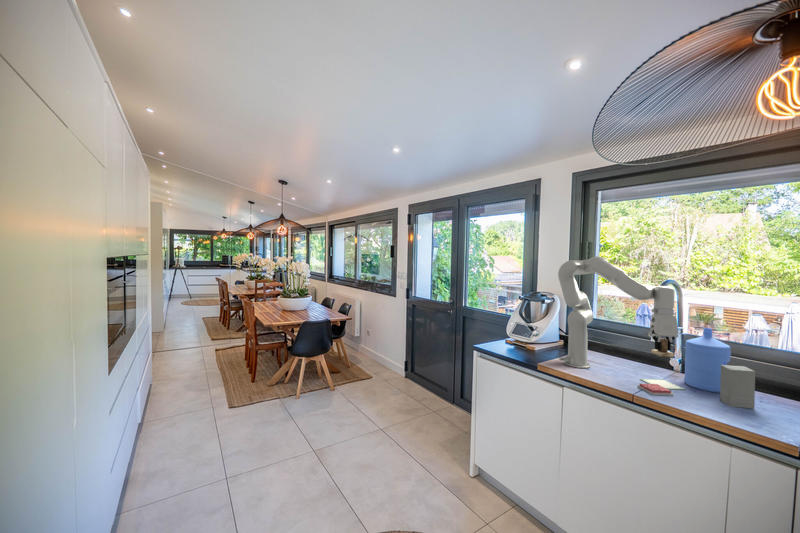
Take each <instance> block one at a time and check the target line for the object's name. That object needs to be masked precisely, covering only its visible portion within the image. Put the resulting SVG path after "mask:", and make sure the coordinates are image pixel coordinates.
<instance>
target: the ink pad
mask: <svg viewBox="0 0 800 533" xmlns="http://www.w3.org/2000/svg"><path fill="white" fill-rule="evenodd" d="M637 388H638V389H640V390H643V391H644V392H645V393H648V394H650V395H651V396H666V397H668V396H671V397H673V396H674V392H672V390H671V389H666V388H664V387H662V386H660V385H658V384H648V383H639V384H638V385H637ZM667 395H668V396H667Z"/></svg>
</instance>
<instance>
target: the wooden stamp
mask: <svg viewBox="0 0 800 533" xmlns="http://www.w3.org/2000/svg"><path fill="white" fill-rule="evenodd" d="M660 342H661V343H662V344H661V350H657V349H652V348H651V350H650V351H651V352H650V354H651V355H654V356H656V357H659V358H660V359H661V358H663V359H666V358H667V359H674V358H675V353H673V352H671V351H668V339H665V337H661V340H660Z"/></svg>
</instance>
